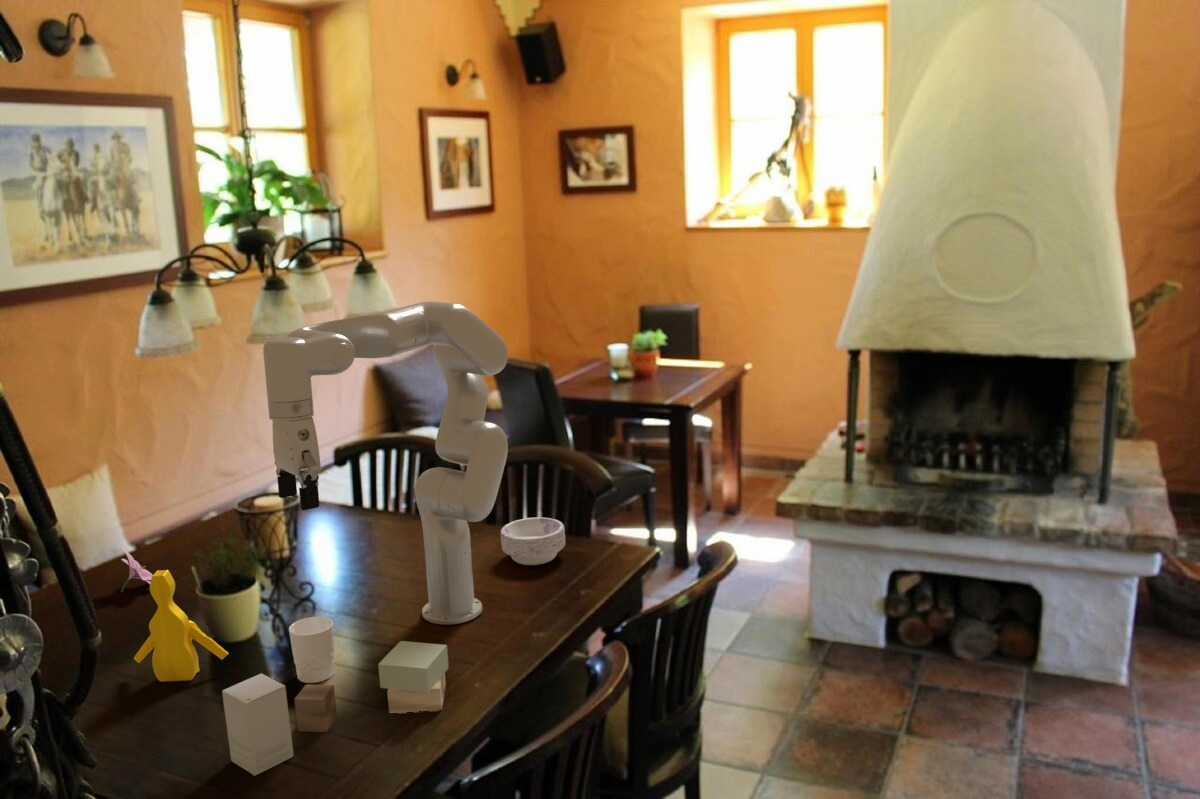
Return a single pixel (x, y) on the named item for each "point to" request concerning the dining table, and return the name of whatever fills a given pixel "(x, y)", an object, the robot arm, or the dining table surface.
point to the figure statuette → (173, 635)
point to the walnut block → (315, 708)
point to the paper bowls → (533, 540)
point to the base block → (417, 699)
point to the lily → (136, 570)
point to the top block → (413, 666)
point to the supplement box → (258, 723)
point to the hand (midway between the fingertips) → (299, 502)
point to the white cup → (313, 648)
